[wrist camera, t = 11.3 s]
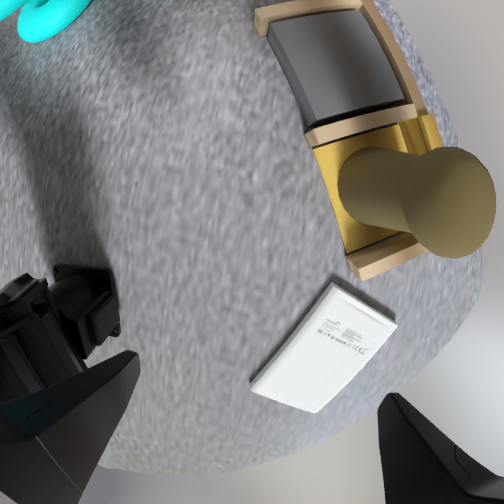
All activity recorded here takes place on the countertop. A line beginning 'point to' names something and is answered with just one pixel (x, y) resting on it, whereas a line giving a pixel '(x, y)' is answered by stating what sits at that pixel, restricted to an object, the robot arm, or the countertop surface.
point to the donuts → (42, 16)
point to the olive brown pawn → (422, 196)
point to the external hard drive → (324, 351)
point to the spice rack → (351, 104)
